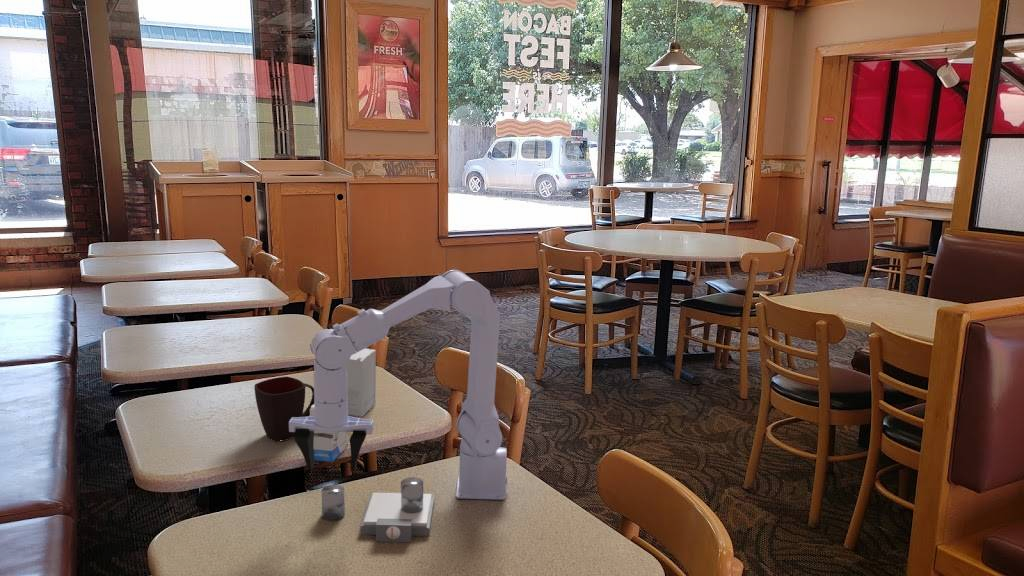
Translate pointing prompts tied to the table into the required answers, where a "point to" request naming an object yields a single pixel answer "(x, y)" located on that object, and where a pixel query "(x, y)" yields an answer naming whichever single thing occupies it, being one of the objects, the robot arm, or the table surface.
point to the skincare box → (361, 382)
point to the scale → (396, 518)
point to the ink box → (328, 443)
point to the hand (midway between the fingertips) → (332, 468)
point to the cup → (281, 405)
